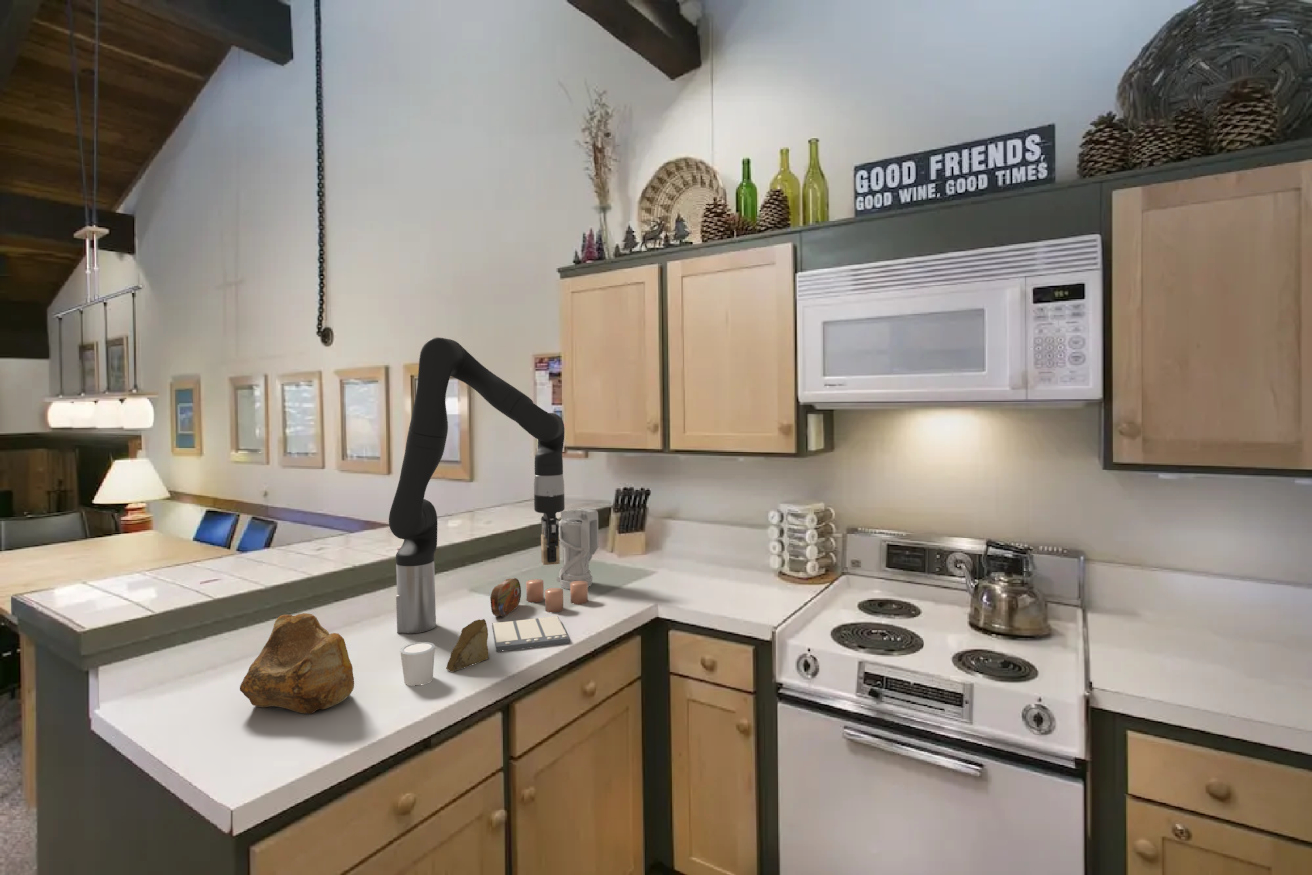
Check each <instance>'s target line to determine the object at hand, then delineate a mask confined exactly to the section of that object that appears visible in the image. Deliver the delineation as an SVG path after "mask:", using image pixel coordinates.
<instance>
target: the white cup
mask: <svg viewBox="0 0 1312 875" xmlns="http://www.w3.org/2000/svg"><path fill="white" fill-rule="evenodd" d="M399 652H400V658H401V667H402V673H403V680H404V684H405V685H406V684H407V685H406V686H408V685H412V686H411V687H416V686H415V685H421V684H425V685H427V684H429V683H431V682H432V681H433V679H434V670H435V669H434V668H435V667H434V666H435V652H436V645H435V644H434V643H433V642H428V641H427V642H426V641H421V642H414V643H409V644H407V645H404V646H403V647H401V648H400V651H399ZM431 680H432V681H431ZM430 681H431V682H430ZM421 686H422V685H421Z"/></svg>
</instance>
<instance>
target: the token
mask: <svg viewBox="0 0 1312 875" xmlns="http://www.w3.org/2000/svg"><path fill="white" fill-rule="evenodd" d="M540 534H541V535H540V546H541V547H540V549H541V552H540V553H541V555H540V556H541V562H542V564H543V566H549V565H551V566H552V565H560V564H561V562H560V558H561V556H560V555H561V554H560V553H561V552H560V539H559V534H558V546H557V547H556V562H550V563H549V562H548V561H547V546H546V544H547V543H546V538H545V537H544V534H542V533H540ZM551 541H554V538H552V539H550V542H551Z"/></svg>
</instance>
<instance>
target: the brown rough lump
mask: <svg viewBox="0 0 1312 875" xmlns="http://www.w3.org/2000/svg"><path fill="white" fill-rule="evenodd" d="M351 662H352V661H351V659H350V658H349V652H348V648H347V644H346V641H345V639H344V637H342V636H341V635H340V634H339V633H338V632H337V633H336V632H333V633H330V632H329V631H328V630H327V629H325V627H323V626H322V625H321V624H320V622H319V619H318V618H317V617H316V615H313V614H311V613H306V612H304V613H298V614H295V615H292V614H282V615H279V616H278V617H277V618H276V619H275V622H274V623H273V628H272V631H271V633H270V635H269V637H268V640H267V642H266V643H265V645H264V646H263V647H262V650H261V652H260V653H259V654H258V656H257V657H256V658H255V659H254V660H253V662H252V663H251V665H250V666H249V668H248V671H247V673H246V674H245V675H244V678H243V680H242V682H241V683H240V685H239V691H240V692H241V693H243V695H244V696H245V697H246V698H247V699H248V700H249V702H250V704H251V705H252V706H253V707H254V706H255V707H260V708H267V707H280V708H283V709H287V710H290V711H293V712H295V713H296V712H297V713H299V714H300V713H301V714H306V713H308V715H312V714H314V713H315V712H316V711H318V710H327V709H329V708H331V707H334V706H336V705H338V704H340V703H342V702H343V701H345V700H346V698H348V697H349V696H350V695H351V694H352V692H353V690H354V689H355V677H354V673H353V672H354V671H353V664H352V663H351Z"/></svg>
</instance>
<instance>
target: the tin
mask: <svg viewBox="0 0 1312 875" xmlns="http://www.w3.org/2000/svg"><path fill="white" fill-rule="evenodd" d="M521 596H522V586H521V583H520V581H519V579H518V578H517V577H513V578H507V579H505V580H503V581H502V582H500V583H499V584H497V585H495V586H494V587H493V589H492V591H491V593H490V609H491V614H492V615H493V616H495V617H503V618H504V617H507V616H508V615H509V614H510V613H512V612H513V611H515V609H517V608H518V607H519V605H520V602H521V598H522V597H521ZM516 607H517V608H516Z"/></svg>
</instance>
